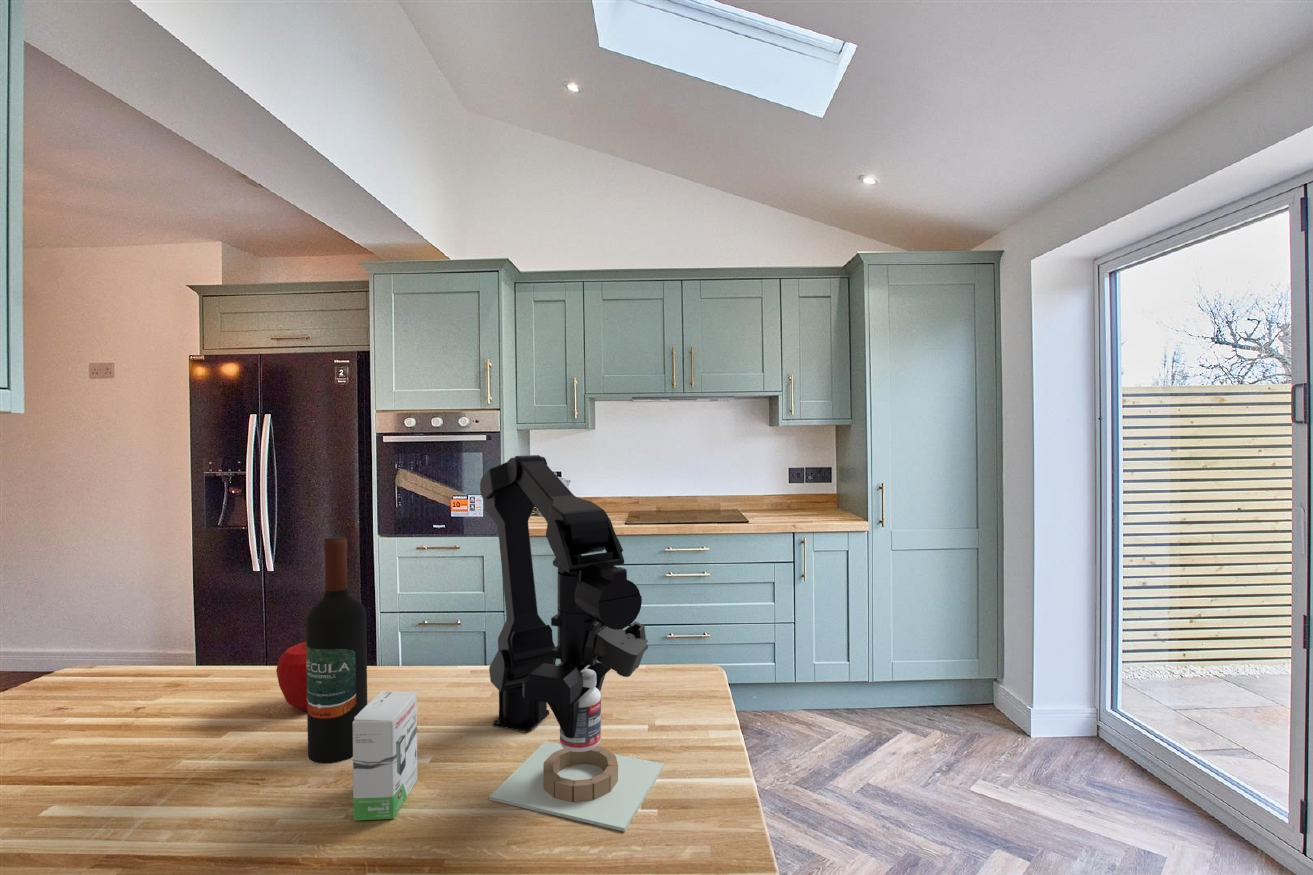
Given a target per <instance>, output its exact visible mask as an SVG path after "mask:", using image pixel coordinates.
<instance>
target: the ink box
mask: <svg viewBox="0 0 1313 875" xmlns="http://www.w3.org/2000/svg"><path fill="white" fill-rule="evenodd" d="M417 699H418V692H417V691H395V690H393V691H387V690H385V691H380V692H378V693H377V694H376V695H375V696H374V698H372V699H371V700H370V701H369V702H367V705H366V706H365V707H364V708H363V709H362V710H361V711H360V712H359V713H358V714H357V715H356V716H355V718H354V721H353V757H352V789H353V790H352V796H353V797H352V798H353V799H352V801H353V804H352V805H353V806H352V808H353V810H352V813H353V815H352V816H353V821H371V820H372V821H373V820H374V821H375V820H387V819H389V820H391V819H395V817H396V816H397V814H398V812H399V811H400V809H401V807H402V806H403V803H404V802H405V801H406V799H407V798H408V795H410V792H411V791H412V789H413V787H414V786H415V784H416V783H417V780H418V734H417V733H418V710H417V709H418V705H417V704H418V702H417V701H418V700H417Z"/></svg>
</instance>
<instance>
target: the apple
mask: <svg viewBox="0 0 1313 875" xmlns="http://www.w3.org/2000/svg"><path fill="white" fill-rule="evenodd" d="M275 671H276V676H277V681H278V686H279V688H280V690H281V693H282V695H283V697H284V699H285V701H286V703H287V704H288V705H289V706H290V707H292V708H295V709H297V710H298V711H301V712H307V660H306V641H304V642H300V643H297V644H296V645H293V646H290V647H288V648H287V649H286V650H285V651H284V652H283V653H282V654H281V656H280V657H279V658H278V661H277V666H276V670H275Z"/></svg>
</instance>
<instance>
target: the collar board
mask: <svg viewBox="0 0 1313 875" xmlns="http://www.w3.org/2000/svg"><path fill="white" fill-rule="evenodd" d="M664 768H665V763H661V762H656V761H651V760H645V759H642V758H641V759H640V758H635V757H631V756H625V755H620V754H616V753H615V754H614V753H613V752H612V751H610V750H608V749H607V748H606V747H602V746H599V745H598V746H597V747H595V748H594V749H592V750H589V751H585V752H572V751H568V750H566V749H564V748H563V747H562V746H561V744H560V742H559V743H557V742H553V741H547V740H545V741H544V742H543V743H542V744H540V746H539V747H538V748H537V749H536V750H535V751H534V752H533V753H532V754H531V755H530V756H529V757H528V758H527V759H526V760H525V761H524V762H522V764H521V765H520V766H519V767H517V768H516V769H515V770H514V772H512V773H511V774H510V776H509V777H508V778H507V779H505V780H504V781H503V782H502V784H501V783H500V785H499V786H498V787H497V788H496V789H495V790H494V791H493V792H492V793H491V794H490V795H489V796H488V797H489V798H488V799H489V800H490V801H493V802H496V803H502V804H504V805H505V804H506V805H510V806H515V807H518V808H524V809H527V810H532V811H535V812H540V813H543V814H549V815H552V816H557V817H561V818H565V819H569V820H574V821H578V822H582V823H586V824H590V825H595V826H599V827H604V828H608V829H612V830H616V831H620V832H626V831H627V829H628V827H629V826H630V824H631V822H632V821H633V819H634V818H635V816H636V814H637V812H638V811H639V809H640V808H641V806H642V804H643V803H644V801H645V800H646V798H647V796H648V794H649V792H651V789H652V788H653V786H654V784H655V783H656V781H657V780H658V777H659V776H660V775H661V773H662V771H663V769H664Z"/></svg>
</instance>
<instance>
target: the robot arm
mask: <svg viewBox="0 0 1313 875" xmlns="http://www.w3.org/2000/svg"><path fill="white" fill-rule="evenodd" d="M479 490H480V491H479V492H480V495H481V498H482V500H483V502H484V509H485V512H486V513H487V514H488V515H489V517H490V518H491V519H492V520H493V522H494V523H495V525H496V526H497V533H498V544H499V552H500V562H501V563H500V564H501V574H502V584H503V594H504V603H505V614H506V620H505V622H504V625H503V626H502V628H501V631H500V633H499V635H498V638H497V652H496V653H495V656H494V658H493V660H491V663H490V666H489V669H488V671H489V679H490V683H491V684H492V685H493V686H494V687H495V688H496V689H497V690H498V717H497V718H496V719H494V720H493V721H492V725H493V726H494V727H499V728H506V729H510V730H516V731H521V732H526V733H527V732H528V733H529V732H531V731H533V729H535V728H536V727H537V726H538V725H539V724H540V723H541V722H543V720H544V719H546V718H547V716H549V715H550V710H551V711H552V714H553V715H554V717H555V719H556V721H557V723H558V725H559V728H560V727H561V729H562V731H563V733H564V735H565V737H567V738H573V737H574V736H575V731H576V725H577V717H578V708H579V700H580V698H581V697H582V696H583V695H584V694H585V693H586V692H587V691H588V690H589V689H590V688H588V687H583V673H582V672H583V671H585V670H586V669H591V670H593V671H595V673H596V681H597V682H596V686H595V687H596V688H597V689H598V690H599V691H600V692H601V690H602V686H603V683H604V680H605V677H606V674H607V673H609V671H610V670H613V671H614V672H616V674H617V675H619V676H621V677H624V678H628V677H631V676H632V674H633V673H634V672H635V671H636V669H638V668H639V667H640V664H641V661H642V659H643V656H644V654H645V652H646V651H647V650H648V648H649V645H648V640H649V639H647V636H646V627H645V625H644V624H642V623H640V622H638V621H636V619H637V617H638V616H639V614H640V610H642V609H641V608H642V603H643V601H642V600H643V599H642V595H641V593H640V589H639V587H638V585H636V584H635V583H634V581H631V580H629V579H628V570H627V568H624V567H620V565H624V564H625V559H624V555H623V553H622V552H624V549H623V547H622V544H621V542H620V540H619V537H617V536H618V535H617V533H616V532H615V529H614V525H613V523H612V521H611V518H610V516H608V514H607V512H606V511H605V510H604V509H603V508H602V507H601V506H599V505H598V504H596V503H595V502H593V501H591V500H587V499H585V498H580V497H577V496H576V495H574V494H573V492H571V490H570V489H569V488H568V487H567V486H566V485H565V483H564V482H563V481H562V480H561V479H560V478H559V477H558V476H557V475H556V474H555V473H554V471H553V470H552V469H551V468H550V467H549V466H548V462H547V459H546V458H545V457H544V456H541V455H539V454H536V455H535V454H533V455H531V454H530V455H516V456H514V457H510V458H509V459H508V460H507V461H506V462H504V463H501V464H499V465H497V466H494V467H492V468H490V469H488V470H487V471H486V473H485V474H484V475H483V476H482V477H481V479H480V481H479ZM535 508H536V509H537V510H538V512H539V513H540V515H541V516H542V517H543V518H544V520H545V522H546V524H547V525H546V531H545V537H546V539H547V541H548V544H549V546H550V548H551V550H552V553H553V555H554V556H555V557H554V559H553V560H552V566H554V567H555V568H557V614H555V615H553V616H551V618H550V624H546V623H545V621H544V620H543V619H542V618H541V617H540V615H539V613H538V612H539V610H538V604H537V602H538V601H537V594H536V585H535V583H536V581H535V575H534V565H533V556H532V547H531V545H532V544H531V537H530V528H529V520H530V517H531V515H532V513H533V511H534V509H535ZM603 551H605V552H603ZM618 566H619V567H618ZM552 627H557V645H556V646H555V643H554V638H553V629H552ZM625 628H626V629H625ZM557 660H560V663H559V664H556V661H557ZM548 706H549V708H550V710H549V709H548Z"/></svg>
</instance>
